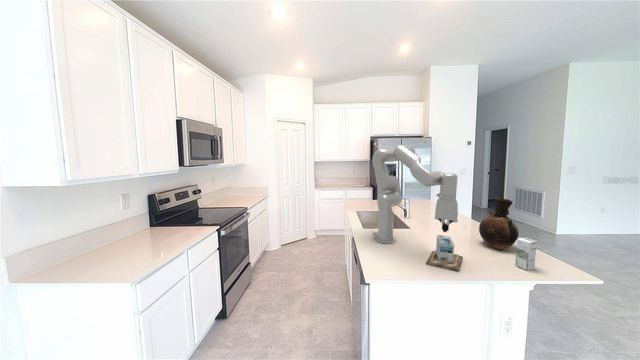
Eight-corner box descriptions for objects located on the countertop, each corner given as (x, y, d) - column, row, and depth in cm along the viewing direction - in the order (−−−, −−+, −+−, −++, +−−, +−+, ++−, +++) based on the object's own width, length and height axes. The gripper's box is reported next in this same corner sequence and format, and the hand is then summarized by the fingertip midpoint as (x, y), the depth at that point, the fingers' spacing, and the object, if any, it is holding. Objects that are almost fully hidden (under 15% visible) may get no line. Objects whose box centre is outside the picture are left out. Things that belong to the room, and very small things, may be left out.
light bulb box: (453, 264, 125) (454, 244, 123) (438, 262, 127) (440, 243, 125) (448, 253, 135) (450, 235, 133) (435, 252, 137) (436, 234, 135)
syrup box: (535, 269, 121) (537, 240, 120) (527, 271, 119) (529, 242, 117) (522, 264, 127) (524, 236, 125) (514, 266, 124) (516, 238, 123)
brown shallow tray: (426, 264, 128) (426, 260, 127) (432, 252, 142) (432, 248, 142) (459, 272, 119) (459, 267, 119) (462, 258, 134) (462, 254, 134)
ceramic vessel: (471, 241, 159) (473, 195, 156) (496, 239, 161) (499, 194, 157) (496, 254, 138) (500, 202, 135) (525, 253, 140) (530, 201, 136)
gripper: (430, 196, 128) (428, 230, 130) (463, 200, 119) (460, 236, 122) (433, 194, 134) (431, 226, 137) (465, 197, 126) (462, 232, 128)
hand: (445, 231), depth 129 cm, fingers closed
